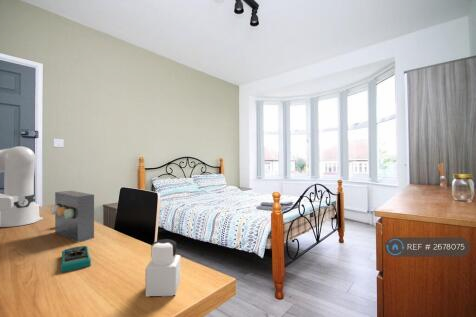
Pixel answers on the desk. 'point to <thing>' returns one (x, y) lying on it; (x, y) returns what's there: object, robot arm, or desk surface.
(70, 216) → the sage button
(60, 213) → the orange button
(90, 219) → the control box
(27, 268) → the desk surface
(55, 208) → the cream button
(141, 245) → the desk surface
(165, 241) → the medicine bottle
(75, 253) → the digital multimeter
